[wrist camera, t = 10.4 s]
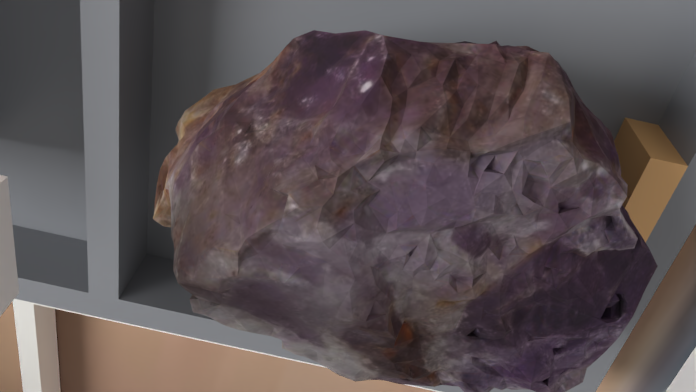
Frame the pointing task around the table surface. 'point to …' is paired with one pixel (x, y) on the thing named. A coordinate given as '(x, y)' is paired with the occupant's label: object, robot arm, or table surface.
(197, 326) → the holder
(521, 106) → the rock
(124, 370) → the table surface
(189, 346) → the table surface
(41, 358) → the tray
